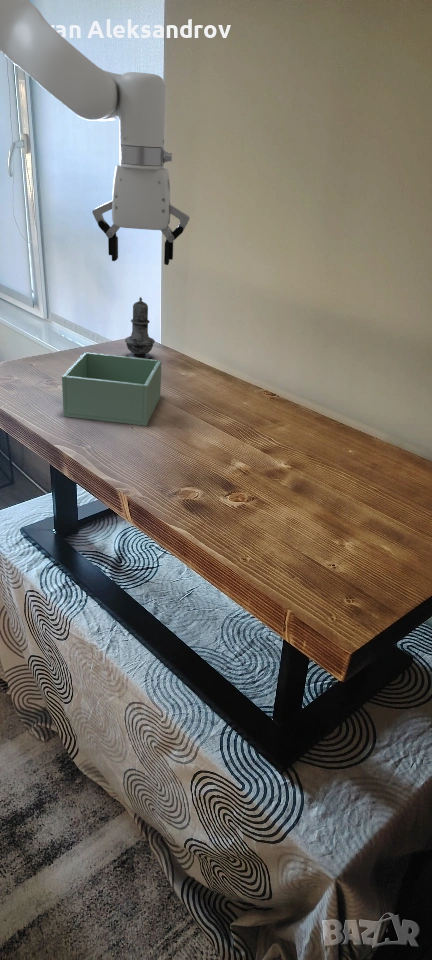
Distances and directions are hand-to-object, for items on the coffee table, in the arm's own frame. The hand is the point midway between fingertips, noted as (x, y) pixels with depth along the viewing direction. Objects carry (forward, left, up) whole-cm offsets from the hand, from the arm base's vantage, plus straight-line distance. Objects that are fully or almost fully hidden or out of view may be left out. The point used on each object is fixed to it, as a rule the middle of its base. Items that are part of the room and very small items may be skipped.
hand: (140, 261), depth 116 cm
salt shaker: (0, 0, -19) cm, 19 cm away
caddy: (+8, -24, -19) cm, 31 cm away
